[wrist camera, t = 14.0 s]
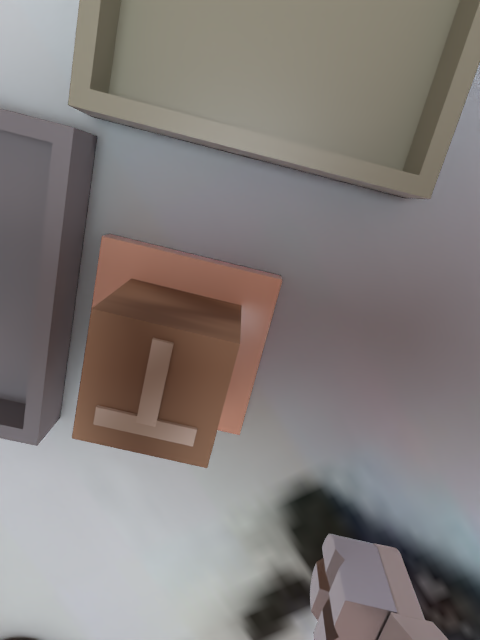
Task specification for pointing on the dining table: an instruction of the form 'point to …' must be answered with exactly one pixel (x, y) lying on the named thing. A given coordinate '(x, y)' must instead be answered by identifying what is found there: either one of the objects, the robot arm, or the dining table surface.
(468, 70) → the tray olive
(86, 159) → the tray charcoal
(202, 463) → the letter cube
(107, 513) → the dining table surface
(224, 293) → the terracotta tile
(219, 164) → the dining table surface
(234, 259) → the dining table surface
